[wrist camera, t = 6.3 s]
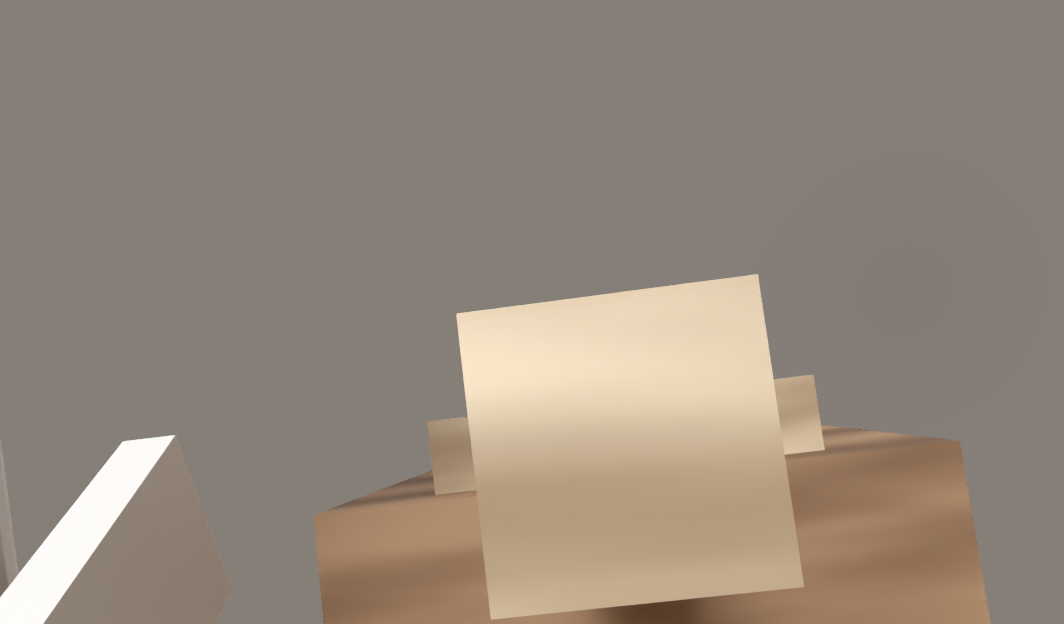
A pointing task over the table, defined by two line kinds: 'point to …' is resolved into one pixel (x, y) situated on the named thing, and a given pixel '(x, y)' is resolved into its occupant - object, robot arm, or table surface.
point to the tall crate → (730, 620)
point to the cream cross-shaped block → (627, 448)
